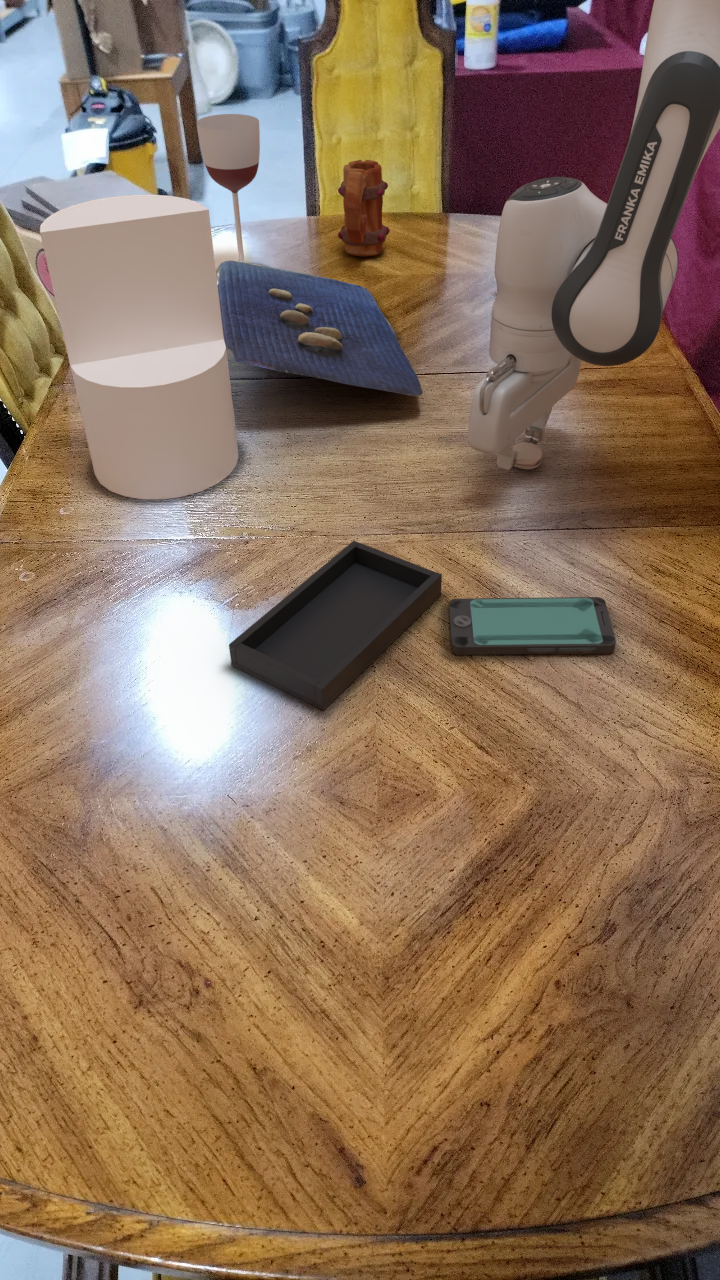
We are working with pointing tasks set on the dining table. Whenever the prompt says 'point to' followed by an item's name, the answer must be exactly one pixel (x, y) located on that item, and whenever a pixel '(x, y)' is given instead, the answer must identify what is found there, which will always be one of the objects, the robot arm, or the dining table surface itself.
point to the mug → (363, 208)
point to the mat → (311, 328)
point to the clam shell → (527, 455)
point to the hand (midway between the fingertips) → (520, 453)
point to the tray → (335, 623)
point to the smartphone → (530, 626)
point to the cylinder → (145, 341)
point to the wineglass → (231, 156)
